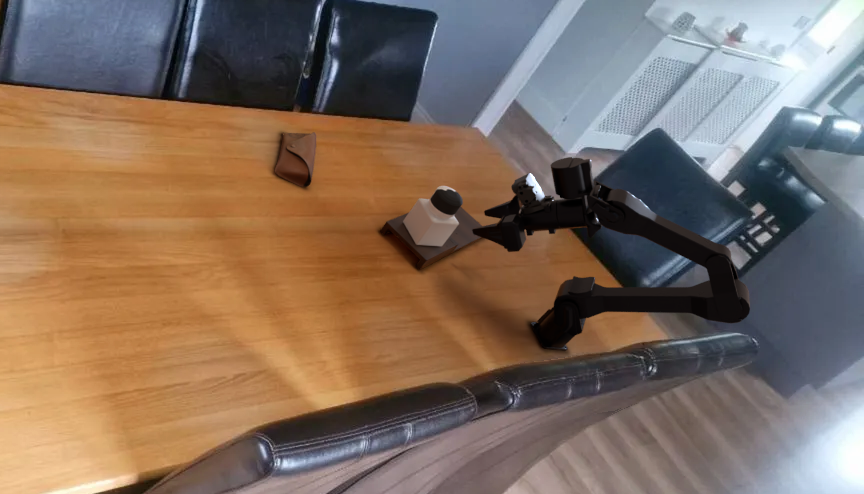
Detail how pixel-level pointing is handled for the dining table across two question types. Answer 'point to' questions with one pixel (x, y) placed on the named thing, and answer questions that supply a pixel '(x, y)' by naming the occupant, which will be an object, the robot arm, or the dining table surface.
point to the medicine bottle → (434, 217)
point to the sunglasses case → (297, 158)
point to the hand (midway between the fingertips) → (478, 222)
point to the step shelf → (434, 253)
